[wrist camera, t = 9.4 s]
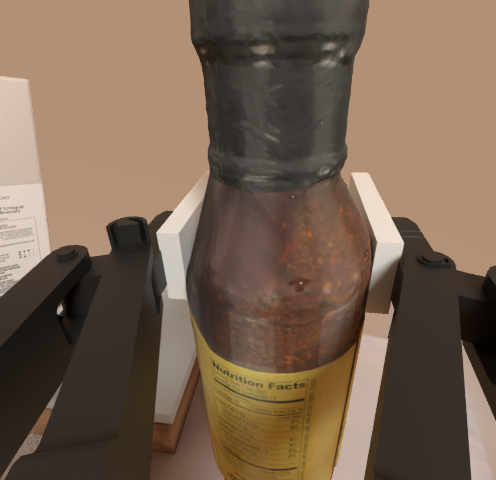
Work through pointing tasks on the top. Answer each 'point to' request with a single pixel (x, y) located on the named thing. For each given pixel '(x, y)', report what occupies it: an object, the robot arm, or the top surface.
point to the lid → (170, 358)
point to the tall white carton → (20, 186)
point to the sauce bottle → (277, 235)
